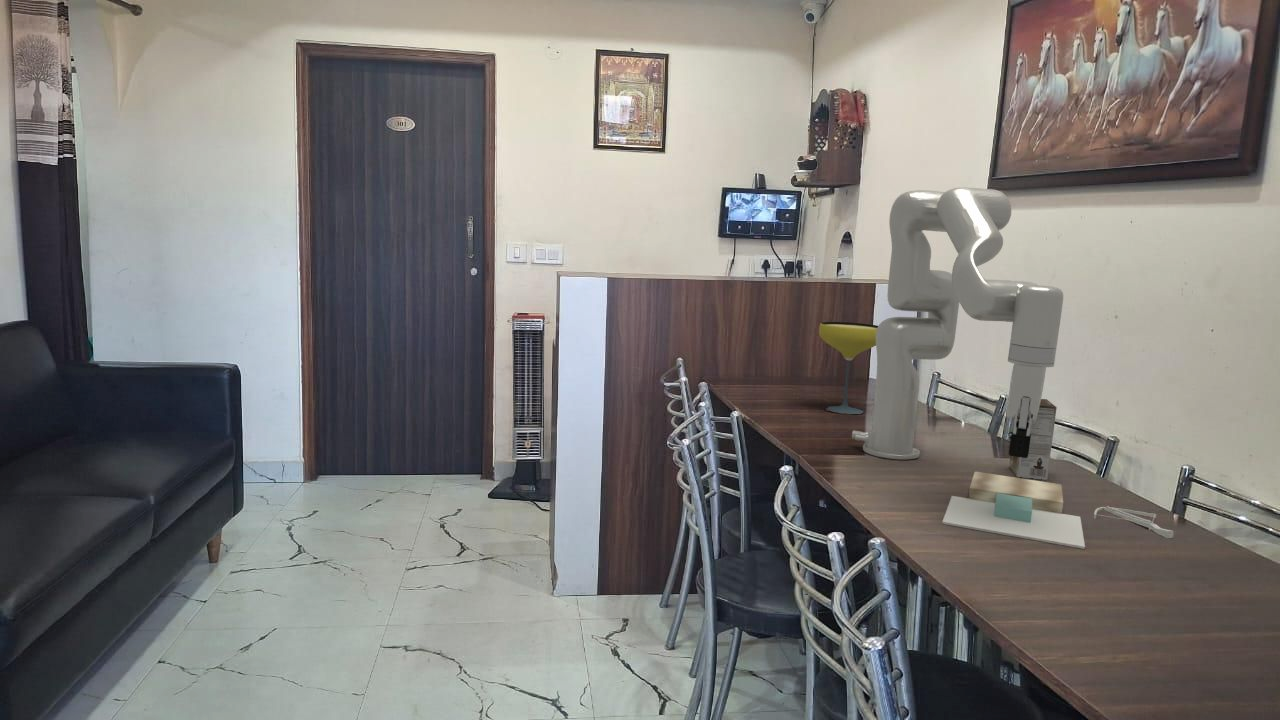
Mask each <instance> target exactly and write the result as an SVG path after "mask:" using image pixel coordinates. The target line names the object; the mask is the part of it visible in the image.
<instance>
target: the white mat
mask: <svg viewBox="0 0 1280 720" xmlns="http://www.w3.org/2000/svg"><path fill="white" fill-rule="evenodd" d="M994 510H995V503H993V502H987V501H981V500H975V499H969V497H962V496H954V495H951V497H950V500H949V503H948V505H947V507H946V511H945V513H944V516H943V519H942V523H941V525H946V526H947V525H948V526H952V527H959V528H964V529H969V530H976V531H980V532H986V533H990V534H991V533H992V534H998V535H1004V536H1009V537H1014V538H1019V539H1026V540H1031V541H1037V542H1042V543H1049V544H1054V545H1061V546H1065V547H1069V548H1076V549H1081V550H1085V549H1086V545H1085V544H1086V543H1085V539H1084V538H1085V537H1084V532H1083V525H1082V519H1081V516H1078V515H1072V514H1068V513H1067V514H1066V513H1062V514H1061V513H1055V512H1048V511H1042V510H1036V509H1032V515H1031V523H1030V522H1024V521H1018V520H1012V519H1006V518H1000V517H994Z"/></svg>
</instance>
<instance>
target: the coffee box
mask: <svg viewBox="0 0 1280 720" xmlns="http://www.w3.org/2000/svg"><path fill="white" fill-rule="evenodd" d="M1021 400H1022V399H1021ZM1057 409H1058V408H1057V406H1055V404H1053V403H1052V402H1051V401H1050V400H1048V399H1047V398H1041V402H1040V406H1039V410H1038V414H1037V418H1036V421H1034V422H1032V423H1031V428H1030V435H1031V439H1030V446H1029V453H1028V457H1027V458H1022V457H1015V456H1010V455H1009V462H1008V464H1009V465H1008V467H1009V468H1010V469H1011V471H1012V472H1013V474H1014V475H1015V476H1016V478H1020V477H1022V479H1030V478H1033V479H1032V480H1041V479H1042V481H1048V476H1049V470H1050V469H1049V468H1050V463H1051V462H1050V461H1051V453H1052V447H1053V446H1052V445H1053V439H1054V438H1053V437H1054V430H1055V423H1056V414H1057ZM1013 418H1014V419H1015V417H1013ZM1014 419H1013V420H1014ZM1017 423H1018V422H1017ZM1013 429H1014V425H1013ZM1013 429H1012V430H1013ZM1016 431H1017V430H1016Z"/></svg>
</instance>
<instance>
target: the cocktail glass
mask: <svg viewBox="0 0 1280 720" xmlns="http://www.w3.org/2000/svg"><path fill="white" fill-rule="evenodd" d="M878 326H879V325H877V324H870V323H861V322H860V323H859V322H849V321H848V322H847V321H846V322H845V321H823V322H820V324H819V326H818V335H819V337H820V338H821V339H822V340H823V342H825V343H826V344H828V345H830V346H831V347H832V348H833V349H836V350H837V351H838V352H840V353H841V355H842V357H843V358H844V359H845V360H846V361H847V363H846V365H847V366H846V374H845V386H844V394H843V399H842V403H841V405H837V406H836V405H833V406H827V407H828V409H829V410H831V411H833V412H839V413H847V414H861V413H863V412H864V411H863V410H862V411H861V409H859V408H855V407H851V406H849V405H848V386H849V374H850V364H851V363H850V362H851V361H853V360H854V358H855V357H856V356H857V355H858V354H860V353H862V352H865V351H867V350H869V349H872V348H874V347H875V346H876V330H877V328H878ZM863 414H864V413H863ZM861 415H862V414H861Z"/></svg>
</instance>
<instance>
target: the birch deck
mask: <svg viewBox="0 0 1280 720" xmlns="http://www.w3.org/2000/svg"><path fill="white" fill-rule="evenodd" d="M968 491H969V493H968V498H969V499H975V500H981V501H987V502H993V503H996V497H997V493H1000V494H1006V495H1012V496H1019V497H1025V498H1031V499H1032V509H1036V510H1042V511H1048V512H1055V513H1061V514H1063V509H1064V508H1063V507H1064V497H1063V496H1064V494H1063V487H1062V484H1060V483H1055V482H1050V481H1049V482H1048V481H1043V480H1042V481H1040V480H1036V479H1030V478H1020V477H1014V476H1013V477H1012V476H1008V475H1001V474H994V473H987V472H981V471H974V473H973V476H972V478H971V482H970V486H969V490H968Z"/></svg>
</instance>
